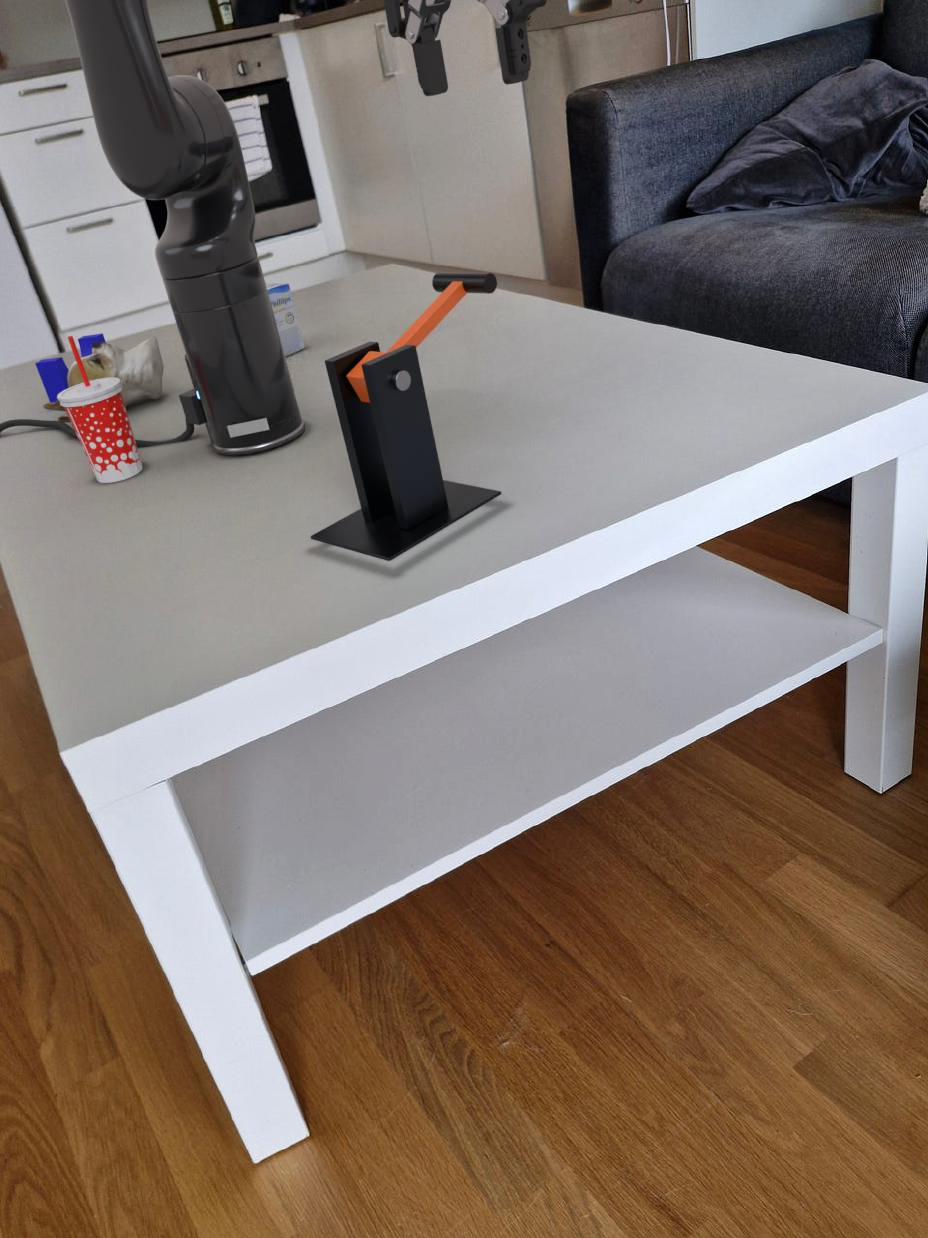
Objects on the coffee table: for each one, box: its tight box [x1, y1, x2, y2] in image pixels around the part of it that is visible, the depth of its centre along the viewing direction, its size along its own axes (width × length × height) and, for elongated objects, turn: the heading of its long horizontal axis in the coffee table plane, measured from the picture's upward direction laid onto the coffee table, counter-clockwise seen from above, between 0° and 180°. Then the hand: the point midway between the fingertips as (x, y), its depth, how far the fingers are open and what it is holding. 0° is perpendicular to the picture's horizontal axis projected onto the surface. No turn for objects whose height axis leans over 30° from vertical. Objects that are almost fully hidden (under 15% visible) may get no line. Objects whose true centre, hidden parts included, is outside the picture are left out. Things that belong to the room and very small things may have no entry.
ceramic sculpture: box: [42, 334, 165, 424], centre depth 124 cm, size 11×9×15 cm
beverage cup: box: [57, 335, 144, 484], centre depth 101 cm, size 6×6×14 cm
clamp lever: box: [347, 272, 498, 403], centre depth 76 cm, size 13×6×2 cm, turn 136°
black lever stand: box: [310, 341, 502, 562], centre depth 76 cm, size 12×9×14 cm
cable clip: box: [34, 333, 107, 403], centre depth 136 cm, size 12×4×6 cm, turn 169°
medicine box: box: [265, 283, 306, 358], centre depth 136 cm, size 8×4×9 cm, turn 49°
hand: (475, 88), depth 80 cm, fingers open, 8 cm apart
